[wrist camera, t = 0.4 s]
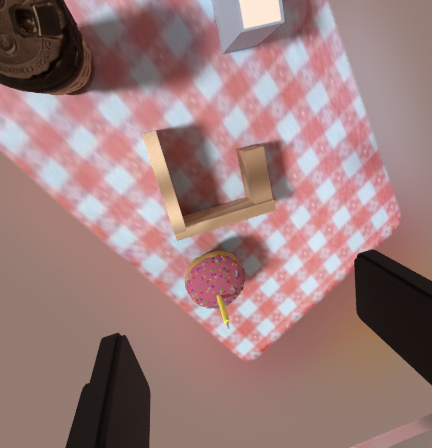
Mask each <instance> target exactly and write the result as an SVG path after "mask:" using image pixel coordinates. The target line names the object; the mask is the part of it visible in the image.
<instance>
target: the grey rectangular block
mask: <svg viewBox="0 0 432 448" xmlns="http://www.w3.org/2000/svg"><path fill="white" fill-rule="evenodd" d="M212 5H213V10H214V15H215V20H216V25H217V30H218V35H219V40H220V45H221V50H222V54H224V53H228V52H232V51H237V50H241V49H245V48H249V47H253V46H257V45H258V44H259V43H261V42H262V41H263V40H264V39H265V38H266V37H268V36H269V35H270V34H271V33H272V32H274V31H275V30H276V29H277V28H278V27H280V26H281V25H282V24H283V23H284V22H285V21H284V12H283V4H282V0H212Z"/></svg>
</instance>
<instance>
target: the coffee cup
mask: <svg viewBox="0 0 432 448" xmlns="http://www.w3.org/2000/svg"><path fill="white" fill-rule="evenodd" d="M94 70H95V69H94V58H93V56H92V54H91V52H90V49H89V46H88V45H87V44H86V43H85V42H84V39H83V37H82V34H81V32H80V31H79V30H78V28H77V23H76V22H75V20H74V19H73V17H72V15H71V13H70V11H69V9H68V8H67V6H66V4H65V2H64V0H0V84H2V85H5V86H8V87H10V88H14V89H17V90H21V91H27V92H34V93H45V94H51V95H63V94H67V95H76V94H79V93H81V92H83V91H84V90H85V89H87V88H88V87H89V86H90V84H91V83H92V80H93V77H94Z"/></svg>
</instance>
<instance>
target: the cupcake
mask: <svg viewBox="0 0 432 448" xmlns="http://www.w3.org/2000/svg"><path fill="white" fill-rule="evenodd" d="M244 280H245V273H244V269H243V268H242V265H241V264H240V262H239V261H238V260H237V258H236V257H235V256H234V255H233V254H230V253H227V252H225V251H222V250H217V251H212V252H208V253H205V254H203V255H202V256H200V257H198V258H196V259H195V260H194V261H193V262H192V263H191V265H190V266H189V269H188V271H187V274H186V279H185V287H186V290H187V291H188V293H189V294H190V296H191V298H192V300H193V302H196V303H197V304H199V305H200V306H203V307H207V308H208V307H209V309H211V308H216V309H218V308H220V310H221V313H222V317H223V320H224V323H225V324H227V327H228V329H229V324H228V323H229V318H228V315H227V312H226V309H225V306H226V305H227V306H228V304H230V303H232V302H233V301H234V299H235V298H236V297H237V296H238V295H240V292H241V290H243V289H242V288H243V285H244Z"/></svg>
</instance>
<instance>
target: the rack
mask: <svg viewBox="0 0 432 448" xmlns="http://www.w3.org/2000/svg"><path fill="white" fill-rule="evenodd" d="M142 136H143V139H144V142H145V145H146V148H147V151H148V155H149V158H150V161H151V164H152V167H153V170H154V173H155V176H156V179H157V182H158V185H159V188H160V191H161V194H162V197H163V200H164V203H165V206H166V209H167V212H168V215H169V218H170V221H171V224H172V227H173V230H174V233H175V236H176V239H177V241H178V240H181V239H184V238H188V237H191V236H194V235H197V234H201V233H204V232H207V231H210V230H213V229H217V228H220V227H223V226H226V225H230V224H233V223H236V222H239V221H242V220H246V219H249V218H252V217H255V216H259V215H262V214H265V213H268V212H271V211H275V210H276V207H275V201H274V199H273V197H272V191H271V185H270V179H269V173H268V168H267V162H266V156H265V150H264V146H258V145H251V146H247V147H244V148H240V149H236V150H237V155H238V160H239V165H240V170H241V174H242V179H243V184H244V189H245V194H246V197H245V198H242V199H238V200H235V201H232V202H228V203H225V204H222V205H218V206H215V207H212V208H209V209H205V210H202V211H199V212H195V213H192V214H189V215H185V216H182V213H181V210H180V207H179V204H178V200H177V197H176V194H175V191H174V188H173V184H172V181H171V178H170V175H169V171H168V168H167V165H166V162H165V159H164V155H163V152H162V149H161V146H160V142H159V139H158V136H157V133H156V130H155V131H152V132H148V133H144V134H142Z"/></svg>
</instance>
